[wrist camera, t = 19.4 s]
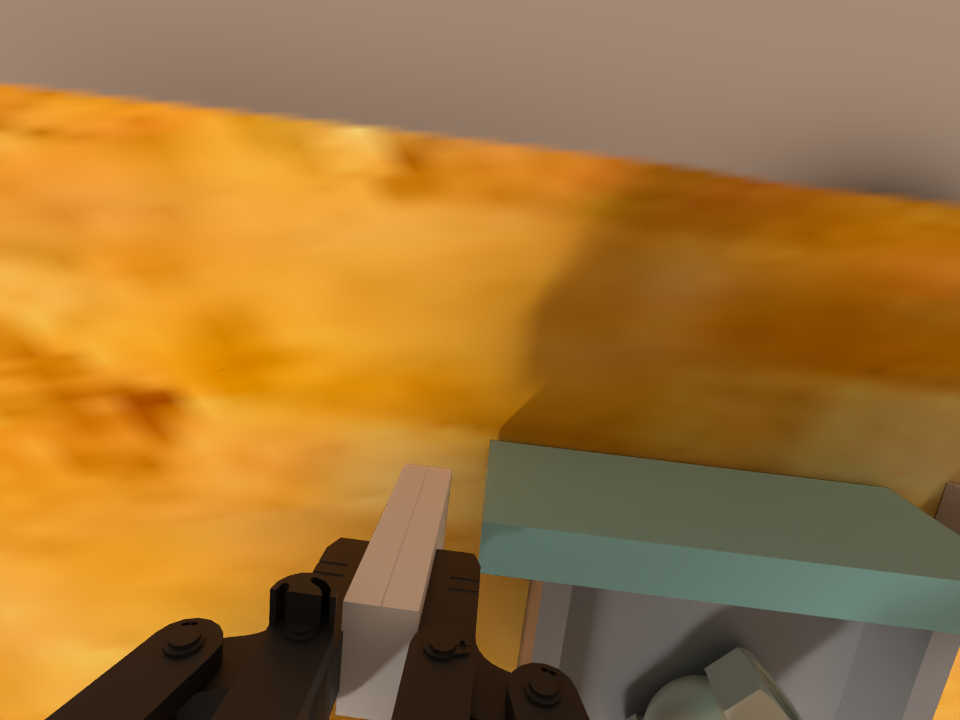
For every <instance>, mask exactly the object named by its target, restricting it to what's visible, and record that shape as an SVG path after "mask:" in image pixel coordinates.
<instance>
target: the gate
mask: <svg viewBox="0 0 960 720" xmlns="http://www.w3.org/2000/svg"><path fill="white" fill-rule="evenodd" d="M478 562H479V564H480V566H481V571H480V573H482V574H490V575H498V576H506V577H514V578H522V579H530V580H537V581H545V582H553V583H561V584H569V585H577V586H585V587H592V588H600V589H608V590H616V591H624V592H632V593H640V594H647V595H655V596H663V597H671V598H679V599H687V600H695V601H703V602H710V603H718V604H726V605H734V606H742V607H750V608H758V609H765V610H773V611H781V612H789V613H797V614H805V615H813V616H820V617H828V618H836V619H844V620H852V621H860V622H868V623H876V624H883V625H891V626H899V627H907V628H915V629H923V630H931V631H938V632H946V633H954V634H960V536H959V535H958V534H956V533H955V532H953V531H952V530H950V529H949V528H947V527H946V526H944V525H943V524H941V523H940V522H938V521H937V520H935V519H934V518H932V517H931V516H929V515H928V514H926V513H925V512H923V511H922V510H920V509H919V508H917V507H916V506H914V505H913V504H911V503H910V502H908V501H907V500H905V499H904V498H902V497H901V496H899V495H898V494H896V493H895V492H893V491H892V490H890V489H889V488H885V487H876V486H868V485H860V484H852V483H843V482H835V481H827V480H818V479H810V478H802V477H794V476H785V475H777V474H769V473H760V472H752V471H744V470H735V469H727V468H719V467H711V466H702V465H694V464H686V463H677V462H669V461H661V460H653V459H644V458H636V457H628V456H619V455H611V454H603V453H595V452H586V451H578V450H570V449H561V448H553V447H545V446H537V445H528V444H520V443H512V442H503V441H495V440H490V449H489V457H488V466H487V474H486V483H485V494H484V505H483V516H482V526H481V537H480V548H479V559H478Z"/></svg>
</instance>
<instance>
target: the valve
mask: <svg viewBox="0 0 960 720" xmlns="http://www.w3.org/2000/svg"><path fill="white" fill-rule="evenodd" d="M704 670H705V672H706V674H707V675H688V676H683V677H680V678H677V679H675V680H672V681H671V682H669V683H667V684H666V685H665V686H663V687H662V688H661V689H660V690H659V691H658V692H657V693H656V694H655V696H654V697H653V698H652V700H651V701H650V703H649V705H648V707H647V709H646V712H645V715H644V716H642V715H638V714H634V715H632V716H631V717H629V718H628V719H626V720H803V719H802V718H801V716H800V714H799V713H798V711H797V710H796V708H795V707H794V705H793V704H792V703H791V701H790V700H789V698H788V697H787V695H786V694H785V693H784V691H783V690H782V689H781V687H780V686H779V685H778V683H777V682H776V681H775V679H774V678H773V677H772V676H771V674H770V673H769V672H768V671H767V669H766V668H765V667H764V666H763V665H762V663H761V662H760V661H759V660H758V659H757V658H756V657H755V656H754V655H753V654H752V653H751V652H750V651H749V650H747V649H744V648H739V647H737V648H735V649H734V650H732V651H731V652H729V653H727V654H726V655H724V656H723V657H721V658H720V659H718V660H717V661H715V662H714V663H712V664H711V665H709V666H707V667H706V668H704Z"/></svg>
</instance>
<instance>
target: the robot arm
mask: <svg viewBox="0 0 960 720" xmlns="http://www.w3.org/2000/svg"><path fill="white" fill-rule="evenodd" d="M451 476H452V469H445V468H437V467H429V466H422V465H414V464H406V463H405V465H404V467H403V469H402V471H401V474H400V476H399V478H398V480H397V483H396V485H395V487H394V489H393V491H392V494H391V496H390V498H389V500H388V503H387V505H386V507H385V509H384V511H383V514H382V516H381V518H380V520H379V523H378V525H377V527H376V529H375V531H374V534H373V536H372V538H371V540H370V541H363V540H356V539H348V538H340V539H338V540H337V541H335V542H334V543H333V544H331V545H330V546H328V547H327V548H326V550H325V552H324V553H323V555H322V557H321V559H320V560H319V563H318V564H317V565H316V567H315V569H314V571H313V573H299V574H294V575H290V576H287V577H285V578H283V579H281V580H280V581H278V582H277V583H276V584H275V585H274V586H273V587H272V588H271V589H270V614H269V626H268V627H267V629H266V630H265V631H263V632H260V633H257V634H251V635H246V636H237V637H228V638H223V632H222V630H221V627H220V625H218V624H216V623H215V622H213V621H212V620H208V619H202V618H193V619H184V620H181V621H178V622H175V623H172V624H169V625H168V626H166V627H164V628H163V629H161V630H159V631H158V632H156V633H155V634H153V635H152V636H151V637H150V638H148V639H147V640H146V641H145V642H143V643H142V644H141V645H139V646H138V647H137V648H136V649H134V650H133V651H132V652H131V653H129V654H128V655H127V656H125V657H124V658H123V659H122V660H120V661H119V662H118V663H117V664H115V665H114V666H113V667H111V668H110V669H109V670H108V671H106V672H105V673H104V674H103V675H101V676H100V677H99V678H97V679H96V680H95V681H94V682H92V683H91V684H90V685H88V686H87V687H86V688H85V689H83V690H82V691H81V692H80V693H78V694H77V695H76V696H74V697H73V698H72V699H71V700H69V701H68V702H67V703H66V704H64V705H63V706H62V707H60V708H59V709H58V710H57V711H55V712H54V713H53V714H52V715H50V716H49V717H48V718H46V719H45V720H329V716H330V713H331V711H332V708H333V705H334V703H335V700H336V697H337V700H336V715H340V716H348V717H355V718H362V719H369V720H590V719H589V717H588V714H587V712H586V710H585V707H584V705H583V703H582V700H581V698H580V696H579V693H578V691H577V689H576V687H575V685H574V684H573V682H572V681H571V679H570V678H569V677H568V676H567V675H565V674H564V673H563V672H562V671H560V670H559V669H557V668H555V667H553V666H550V665H548V664H544V663H534V662H533V663H528V664H524V665H521V666H519V667H518V668H517V669H515V670H514V671H513V672H512V673H510V672H507V671H505V670H503V669H500V668H499V667H497V666H495V665H493V664H491V663H490V662H489V661H488V660H487V659H485V658H484V657H483V655H482V654H481V653H480V651H479V649H478V647H477V645H476V639H475V633H476V620H477V608H478V596H479V582H480V571H481V566H480V564H479V562H478V561H477V559H476V557H475V555H474V554H471V553H464V552H456V551H449V550H443V547H444V538H445V529H446V520H447V512H448V503H449V494H450V485H451Z"/></svg>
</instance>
